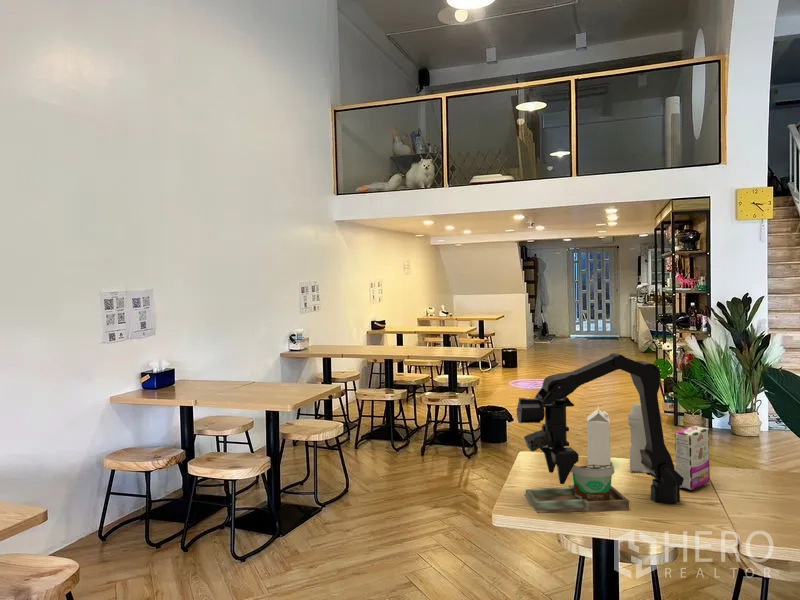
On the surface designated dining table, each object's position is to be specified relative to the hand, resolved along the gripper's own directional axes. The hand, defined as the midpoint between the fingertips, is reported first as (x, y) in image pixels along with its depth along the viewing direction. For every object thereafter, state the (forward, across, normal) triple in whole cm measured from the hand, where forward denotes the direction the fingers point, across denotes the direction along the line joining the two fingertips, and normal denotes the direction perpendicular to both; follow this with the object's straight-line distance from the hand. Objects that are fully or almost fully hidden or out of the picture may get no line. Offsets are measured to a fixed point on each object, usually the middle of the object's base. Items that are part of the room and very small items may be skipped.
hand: (556, 478), depth 159 cm
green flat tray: (+7, 0, +7) cm, 10 cm away
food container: (+7, +1, +11) cm, 13 cm away
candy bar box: (+7, -10, +45) cm, 46 cm away
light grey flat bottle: (+7, -23, +37) cm, 44 cm away
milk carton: (+7, -31, +25) cm, 41 cm away
